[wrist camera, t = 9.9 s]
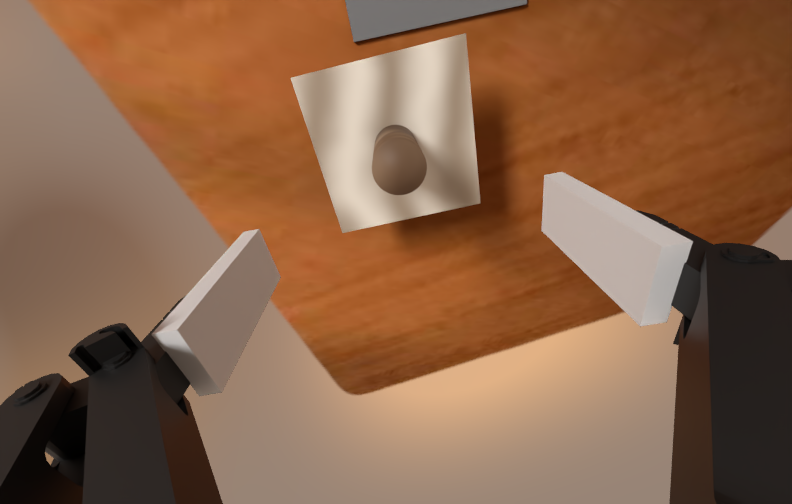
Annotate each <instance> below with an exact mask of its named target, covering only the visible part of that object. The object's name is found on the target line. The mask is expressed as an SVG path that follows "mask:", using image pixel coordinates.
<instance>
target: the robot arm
mask: <svg viewBox="0 0 792 504" xmlns="http://www.w3.org/2000/svg"><path fill="white" fill-rule="evenodd" d="M542 232H543V233H545V234H546V235H547V236H548V237H549V238H550V239H551V240H552V241H553V242H554V243H555V244H556V245H557V246H558V247H559V248H560V249H561V250H562V251H563V252H564V253H565V254H566V255H567V256H568V257H569V258H570V259H571V260H572V261H573V262H574V263H575V264H576V265H577V266H579V267H580V268H581V269H582V270H583V271H584V272H585V273H586V274H587V275H588V276H589V277H590V278H591V279H592V280H593V281H594V282H595V283H596V284H597V285H598V286H599V287H600V288H601V289H602V290H603V291H604V292H605V293H606V294H607V295H608V296H609V297H610V298H611V299H612V300H614V301H615V302H616V303H617V304H618V305H619V306H620V307H621V308H622V309H623V310H624V311H625V312H626V313H627V314H628V315H629V316H630V317H631V318H632V319H633V320H634V321H635V322H636V323H637V324H638V325H639V326H646V325H652V324H659V323H665V322H667V320H668V317H669V314H670V311H671V308H672V306H673V307H674V308H676V309H677V310H678V311H680V312H681V313H682V314H683V317H682V320H681V323H680V326H679V329H678V332H677V334H676V337H675V340H674V343H673V344H677V345H678V344H679V349H678V367H677V384H676V402H675V419H674V437H673V453H672V454H673V455H672V472H671V488H670V504H792V260H780V259H779V258H778V257H777V256H776V255H775V254H773V253H771V252H769V251H767V250H764V249H761V248H757V247H755V246H750V245H744V244H735V243H722V244H715V245H713V244H711V243H709V242H707V241H705V240H703V239H701V238H699V237H697V236H695V235H693V234H691V233H689V232H687V231H685V230H684V229H682V228H681V229H679V227H678V226H676V225H674V224H672V223H668V221H666V220H664V219H662V218H660V217H658V216H656V215H653V214H649V213H646V212H642V211H635V210H633V209H631V208H629V207H627V206H626V205H624V204H622V203H620V202H618V201H616V200H614V199H612V198H611V197H609V196H607V195H605V194H603V193H601V192H599V191H597V190H595V189H594V188H592V187H590V186H588V185H586V184H584V183H582V182H580V181H579V180H577V179H575V178H573V177H571V176H569V175H567V174H565V173H563V172H558V173H553V174H548V175H544V193H543V212H542ZM280 278H281V277H280V274H279V272H278V270H277V268H276V265H275V263H274V261H273V259H272V256H271V254H270V252H269V250H268V247H267V245H266V243H265V241H264V239H263V236H262V234H261V232H260V230H259V229H256V230H251V231H246V232H243V233H242V234H241V235H240V236H239V238H238V239H237V240H236V241H235V242H234V243H233V244H232V245H231V246H230V248H229V249H228V250H227V251H226V252H225V253H224V254H223V255H222V256H221V258H220V259H219V260H218V261H217V262H216V263H215V264H214V265H213V266H212V268H211V269H210V270H209V271H208V272H207V273H206V274H205V275H204V277H203V278H202V279H201V280H200V281H199V282H198V283H197V284H196V285H195V286H194V288H193V289H192V290H191V291H190V292H189V293H188V294H187V295H186V296H185V297H183V298H182V299H181V300H179V301H178V302H177V303H176V304H175V306H174V307H173V308H172V309H171V310H170V312H168V313H167V314H166V315H165V317H164V318H163V320H161V321H160V322H159V323H158V324H157V325H156V326H155V327H154V329H153V330H152V331H151V332H150V333H149V334H148V335H147V336H146V337H145V338H144V340H143V341H142V342H140V341H139V340H138V339H137V337H136V336H135V335H134V334H133V333H132V331H131V330H130V329H129V328H128V326H127V325H126V324H123V323H118V324H114V325H110V326H107V327H105V328H102V329H100V330H98V331H96V332H94V333H92V334H91V335H89V336H87V337H86V338H84V339H83V340H82V341H80V342H79V343H78V344H77V345H76V346H75V347H74V348H73V349H72V350H71V352H70V353H69V356H70V357H71V358H72V359H73V360H74V361H75V362H76V363H77V364H78V365H79V366H80V367H81V368H82V369H83V370H84V371H85V372H86V373H87V374H88V375H89V377H87V378H84V379H81V380H79V381H76V382H73V383H71V384H70V383H69V382H68V381H67V380H66V379H65V378H63V376H61V375H60V374H58V373H57V374H49V375H47V376H43V377H41V378H39V379H37V380H34V381H31V382H29V383H27V384H25V386H24V387H23V386H22V387H20V388H19V389H17V390H16V391H15V393H14V394H12V395H11V396H10V397H8V398H7V399H6V400H5V401H4V402H3V404H2V405H0V504H223V503H222V500H221V497H220V494H219V491H218V488H217V485H216V482H215V479H214V475H213V473H212V469H211V466H210V463H209V460H208V457H207V454H206V451H205V448H204V445H203V442H202V439H201V436H200V433H199V430H198V427H197V424H196V421H195V418H194V415H193V412H192V409H191V406H190V403H189V401H188V400H187V398H186V397H185V396H184V395H183V394H184V393H185V391H186V389H187V388H188V387H189V385H191V386H192V387H193V388H194V390H195V391H196V392H197V394H198V395H199V396H203V395H209V394H216V393H222V391H223V389H224V387H225V385H226V383H227V381H228V379H229V378H230V376H231V374H232V372H233V370H234V368H235V366H236V364H237V362H238V359H239V358H240V356H241V354H242V352H243V350H244V348H245V346H246V344H247V342H248V340H249V338H250V336H251V335H252V332H253V331H254V329H255V327H256V325H257V323H258V321H259V319H260V317H261V315H262V313H263V311H264V309H265V307H266V305H267V303H268V301H269V299H270V297H271V295H272V293H273V291H274V289H275V288H276V286H277V284H278V282H279V280H280ZM45 452H46V453H48V454H49V455H51V456H52V457H53V458H54V460H53V462H52V464H51V466H50V464H49V463H48V462H47V461H46V457H45Z"/></svg>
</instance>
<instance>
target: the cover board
mask: <svg viewBox="0 0 792 504" xmlns="http://www.w3.org/2000/svg"><path fill="white" fill-rule="evenodd" d="M291 81H292V84H293V87H294V90H295V93H296V96H297V99H298V102H299V105H300V108H301V111H302V114H303V117H304V120H305V122H306V125H307V128H308V131H309V134H310V137H311V140H312V143H313V146H314V149H315V152H316V155H317V158H318V161H319V164H320V167H321V170H322V173H323V176H324V179H325V182H326V185H327V188H328V191H329V194H330V197H331V200H332V203H333V206H334V209H335V212H336V215H337V218H338V221H339V224H340V227H341V230H342V233H345V232H349V231H354V230H359V229H363V228H368V227H373V226H377V225H382V224H387V223H391V222H396V221H401V220H405V219H410V218H415V217H419V216H424V215H429V214H433V213H438V212H443V211H447V210H452V209H457V208H461V207H466V206H471V205H475V204H480V203H481V202H480V191H479V179H478V168H477V156H476V145H475V133H474V122H473V110H472V99H471V87H470V76H469V64H468V53H467V41H466V33H465V34H461V35H457V36H453V37H449V38H445V39H441V40H437V41H433V42H429V43H426V44H422V45H418V46H414V47H410V48H406V49H402V50H398V51H394V52H390V53H386V54H382V55H379V56H375V57H371V58H367V59H363V60H359V61H355V62H351V63H347V64H343V65H339V66H335V67H331V68H328V69H324V70H320V71H316V72H312V73H308V74H304V75H300V76H296V77H292V78H291Z"/></svg>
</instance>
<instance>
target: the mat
mask: <svg viewBox="0 0 792 504" xmlns="http://www.w3.org/2000/svg"><path fill="white" fill-rule="evenodd" d="M345 2H346V7H347V11H348V16H349V21H350V26H351V31H352V35H353V40H354V42H358V41H363V40H367V39H372V38H376V37H381V36H385V35H390V34H394V33H399V32H404V31H408V30H413V29H417V28H422V27H426V26H431V25H435V24H440V23H444V22H449V21H453V20H458V19H463V18H467V17H472V16H476V15H481V14H485V13H490V12H494V11H499V10H503V9H508V8H512V7H517V6H522V5H526V4H527V0H345Z"/></svg>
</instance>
